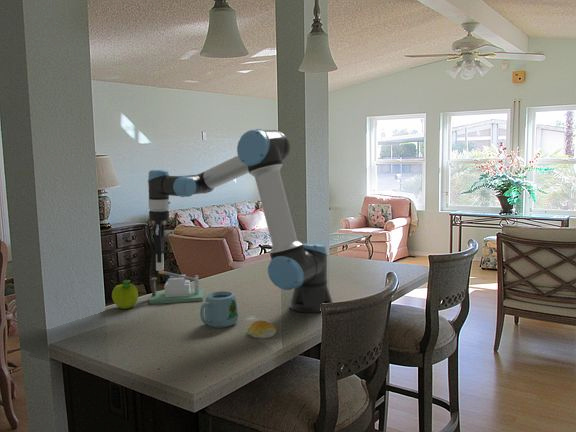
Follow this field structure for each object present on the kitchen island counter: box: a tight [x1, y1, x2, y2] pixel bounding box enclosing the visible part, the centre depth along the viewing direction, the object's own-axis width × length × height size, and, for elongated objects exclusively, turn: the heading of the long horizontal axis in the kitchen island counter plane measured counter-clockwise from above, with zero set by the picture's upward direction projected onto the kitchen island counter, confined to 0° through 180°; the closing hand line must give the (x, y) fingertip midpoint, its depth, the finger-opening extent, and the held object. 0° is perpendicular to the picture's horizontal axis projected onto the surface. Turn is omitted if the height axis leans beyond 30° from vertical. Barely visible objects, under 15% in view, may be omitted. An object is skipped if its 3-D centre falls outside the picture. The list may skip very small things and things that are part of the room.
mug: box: [199, 291, 239, 329], centre depth 169 cm, size 15×11×10 cm
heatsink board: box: [148, 274, 206, 305], centre depth 204 cm, size 20×13×8 cm, turn 95°
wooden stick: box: [157, 270, 195, 282], centre depth 203 cm, size 16×2×1 cm, turn 96°
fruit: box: [111, 279, 139, 310], centre depth 192 cm, size 9×9×10 cm
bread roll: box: [247, 320, 277, 339], centre depth 160 cm, size 8×9×4 cm
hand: (159, 270), depth 202 cm, fingers closed
